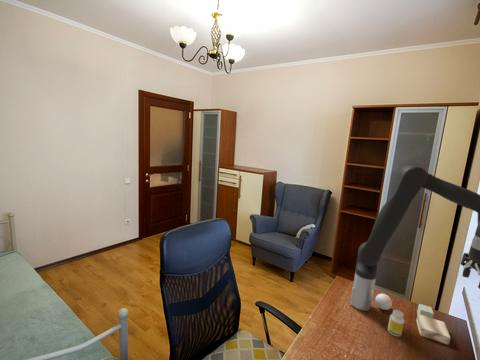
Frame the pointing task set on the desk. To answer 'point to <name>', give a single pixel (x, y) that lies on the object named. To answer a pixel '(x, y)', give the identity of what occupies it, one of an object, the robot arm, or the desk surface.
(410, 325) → the desk surface
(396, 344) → the desk surface
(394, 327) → the supplement bottle
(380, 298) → the white rounded oval
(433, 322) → the birch block
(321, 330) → the desk surface
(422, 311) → the sage cube
